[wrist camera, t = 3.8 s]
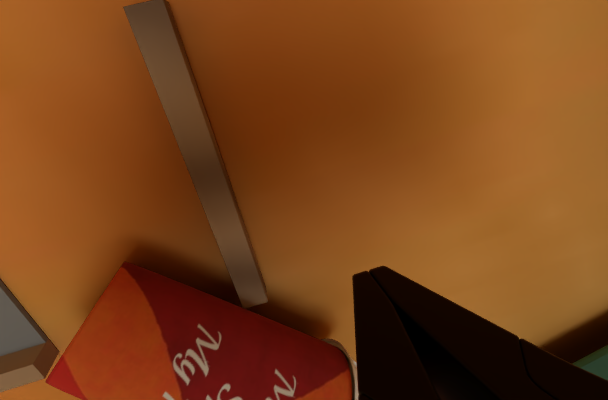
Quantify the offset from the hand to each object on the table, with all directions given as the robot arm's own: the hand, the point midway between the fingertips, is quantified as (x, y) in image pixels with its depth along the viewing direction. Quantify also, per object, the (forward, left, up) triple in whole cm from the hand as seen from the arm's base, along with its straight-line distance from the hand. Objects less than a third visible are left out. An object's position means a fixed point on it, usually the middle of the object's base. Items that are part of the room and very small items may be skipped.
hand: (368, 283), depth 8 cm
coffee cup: (-4, +12, -8) cm, 15 cm away
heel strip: (0, +4, -11) cm, 12 cm away
